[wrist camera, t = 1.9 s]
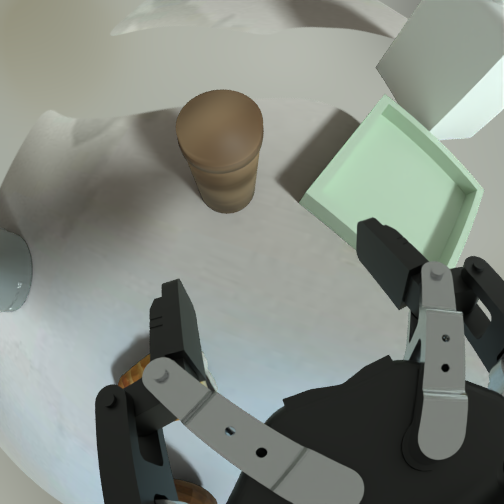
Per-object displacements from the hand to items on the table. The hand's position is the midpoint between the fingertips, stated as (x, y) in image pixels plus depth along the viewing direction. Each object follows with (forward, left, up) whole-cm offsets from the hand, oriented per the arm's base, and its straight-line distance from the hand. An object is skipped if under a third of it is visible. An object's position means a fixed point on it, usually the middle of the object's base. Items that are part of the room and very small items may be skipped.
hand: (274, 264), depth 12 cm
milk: (+4, +32, -13) cm, 35 cm away
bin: (+7, +16, -13) cm, 21 cm away
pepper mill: (-7, +5, -13) cm, 16 cm away
